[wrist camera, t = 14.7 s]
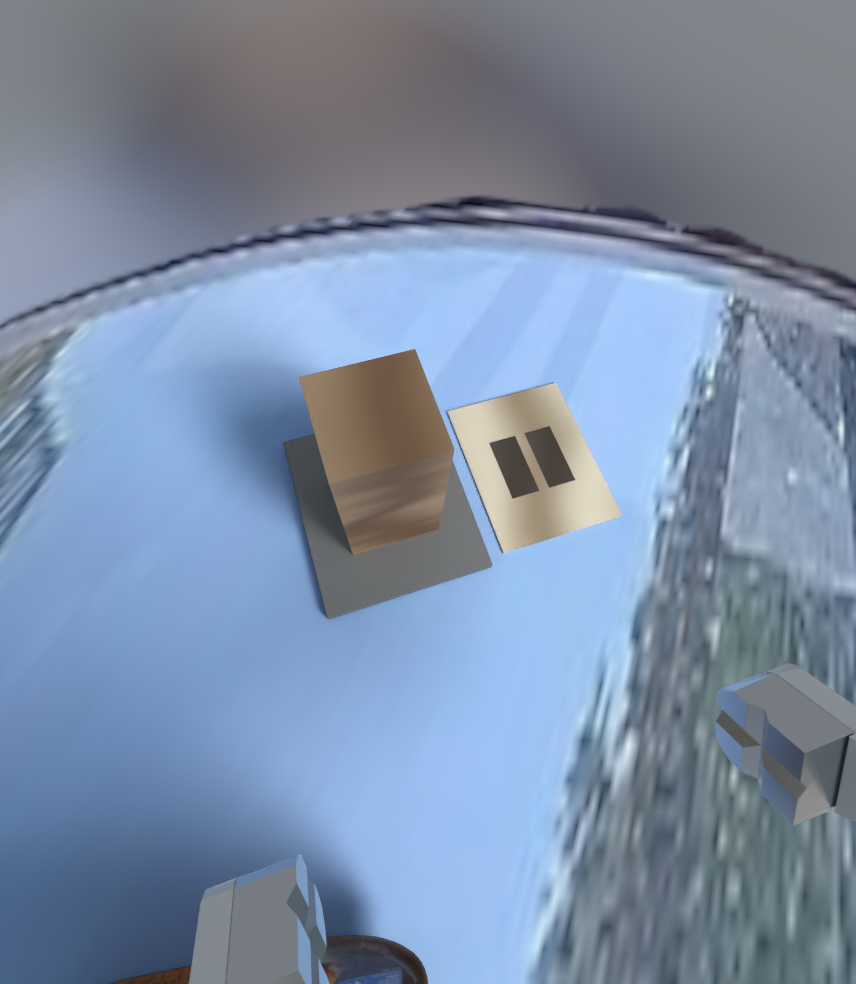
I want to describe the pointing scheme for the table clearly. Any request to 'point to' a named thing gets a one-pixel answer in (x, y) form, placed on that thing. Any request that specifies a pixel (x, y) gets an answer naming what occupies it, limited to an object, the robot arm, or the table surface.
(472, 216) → the table surface
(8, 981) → the table surface
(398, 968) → the tin
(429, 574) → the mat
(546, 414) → the placard
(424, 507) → the walnut block
